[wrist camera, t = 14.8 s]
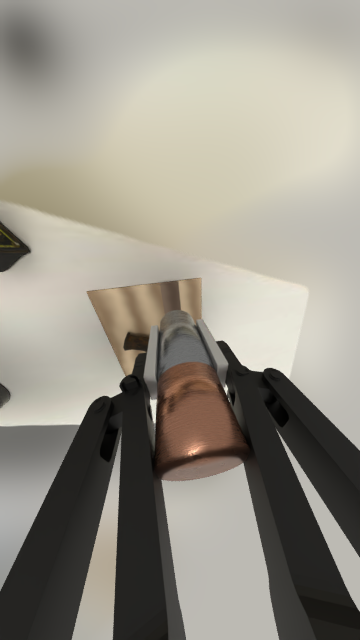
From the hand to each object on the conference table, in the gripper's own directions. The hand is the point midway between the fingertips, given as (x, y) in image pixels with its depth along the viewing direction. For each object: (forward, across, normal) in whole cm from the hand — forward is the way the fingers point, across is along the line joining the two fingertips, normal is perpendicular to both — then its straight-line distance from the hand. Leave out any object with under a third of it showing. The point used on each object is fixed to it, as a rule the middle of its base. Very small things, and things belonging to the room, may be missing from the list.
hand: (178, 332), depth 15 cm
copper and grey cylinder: (+1, 0, 0) cm, 1 cm away
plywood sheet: (+16, -5, -12) cm, 20 cm away
